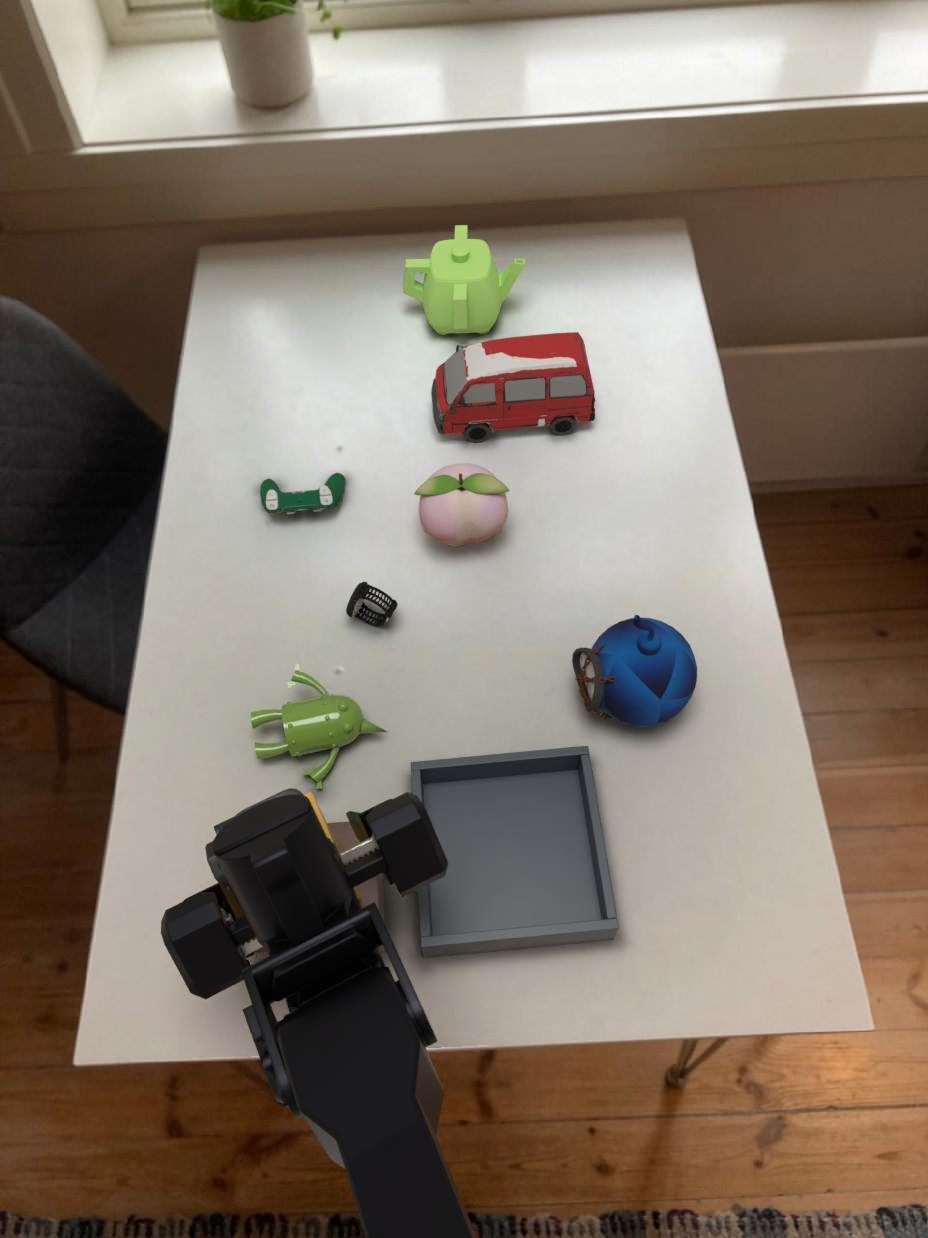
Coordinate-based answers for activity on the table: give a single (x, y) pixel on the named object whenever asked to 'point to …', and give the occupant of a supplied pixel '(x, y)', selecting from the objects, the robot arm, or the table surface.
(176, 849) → the table surface
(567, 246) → the table surface
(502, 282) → the teapot
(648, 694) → the bomb
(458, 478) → the decorative fruit
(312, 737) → the character figure
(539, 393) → the toy car
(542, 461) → the table surface
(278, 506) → the gaming controller
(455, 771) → the tray
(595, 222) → the table surface
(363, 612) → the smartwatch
